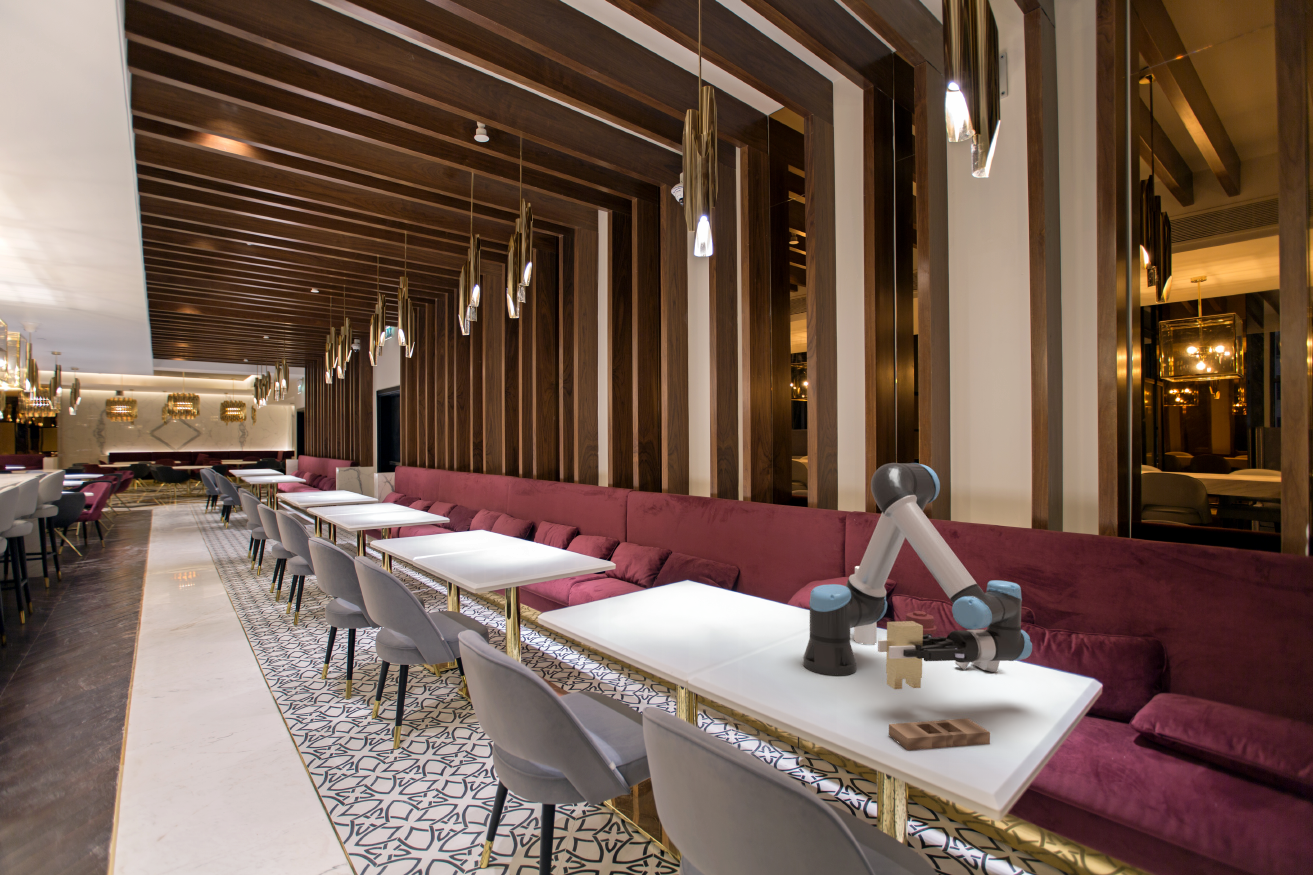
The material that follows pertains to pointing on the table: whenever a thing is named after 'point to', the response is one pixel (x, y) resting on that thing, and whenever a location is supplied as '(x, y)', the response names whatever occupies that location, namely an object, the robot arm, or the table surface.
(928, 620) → the mechanical component
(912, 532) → the robot arm
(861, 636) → the cylindrical container
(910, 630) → the tall wooden block
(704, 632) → the table surface
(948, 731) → the slotted wooden base
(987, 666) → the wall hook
